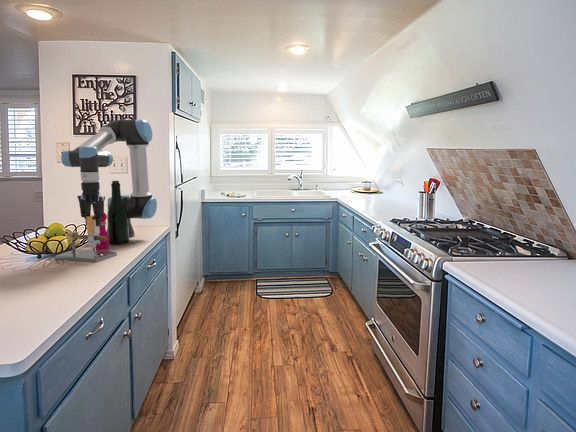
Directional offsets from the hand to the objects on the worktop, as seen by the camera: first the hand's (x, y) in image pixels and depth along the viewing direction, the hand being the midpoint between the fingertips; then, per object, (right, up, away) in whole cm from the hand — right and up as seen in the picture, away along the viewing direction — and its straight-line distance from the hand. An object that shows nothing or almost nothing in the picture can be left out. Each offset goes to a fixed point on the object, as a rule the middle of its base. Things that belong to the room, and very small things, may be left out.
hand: (93, 232), depth 210 cm
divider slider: (0, -9, +1) cm, 9 cm away
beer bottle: (0, -7, +33) cm, 34 cm away
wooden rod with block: (-4, -10, +3) cm, 11 cm away
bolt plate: (-4, -11, +3) cm, 12 cm away
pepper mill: (-4, -9, +21) cm, 23 cm away
